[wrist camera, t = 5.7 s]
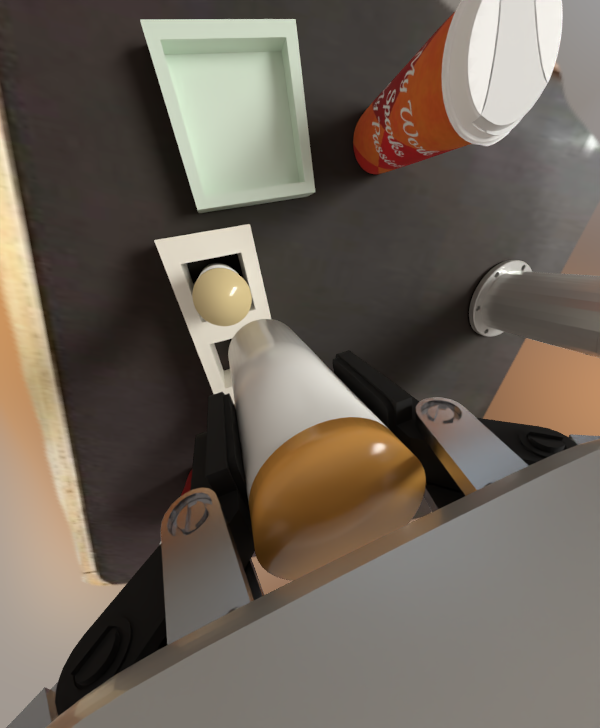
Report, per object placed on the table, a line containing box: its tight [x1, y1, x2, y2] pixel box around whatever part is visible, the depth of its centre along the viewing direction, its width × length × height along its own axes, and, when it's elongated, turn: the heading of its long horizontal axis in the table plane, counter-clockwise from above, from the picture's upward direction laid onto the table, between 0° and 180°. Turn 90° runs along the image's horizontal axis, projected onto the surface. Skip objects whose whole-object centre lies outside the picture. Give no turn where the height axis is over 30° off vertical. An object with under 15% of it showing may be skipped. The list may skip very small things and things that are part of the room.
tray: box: [140, 19, 315, 213], centre depth 23 cm, size 12×12×2 cm
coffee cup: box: [353, 0, 563, 174], centre depth 22 cm, size 8×8×15 cm
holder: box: [154, 224, 271, 409], centre depth 30 cm, size 8×26×5 cm, turn 10°
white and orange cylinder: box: [228, 319, 426, 581], centre depth 11 cm, size 4×4×11 cm
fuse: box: [192, 262, 252, 326], centre depth 24 cm, size 4×4×11 cm
